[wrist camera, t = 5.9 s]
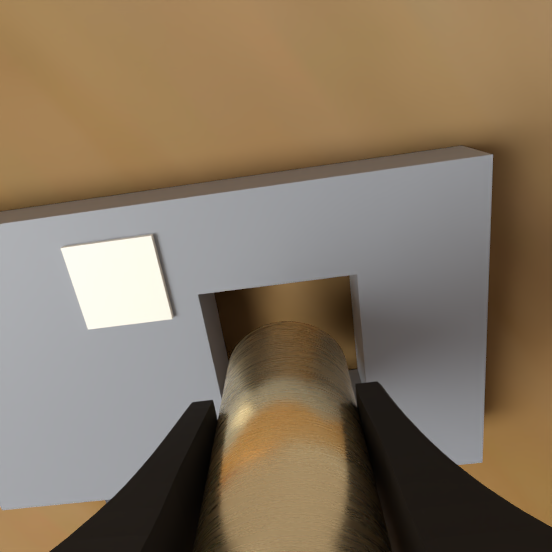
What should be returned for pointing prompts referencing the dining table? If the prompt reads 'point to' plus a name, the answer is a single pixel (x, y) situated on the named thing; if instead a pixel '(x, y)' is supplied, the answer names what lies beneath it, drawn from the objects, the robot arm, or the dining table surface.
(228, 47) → the dining table surface
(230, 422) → the shiny gold tapered cylinder
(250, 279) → the plate
